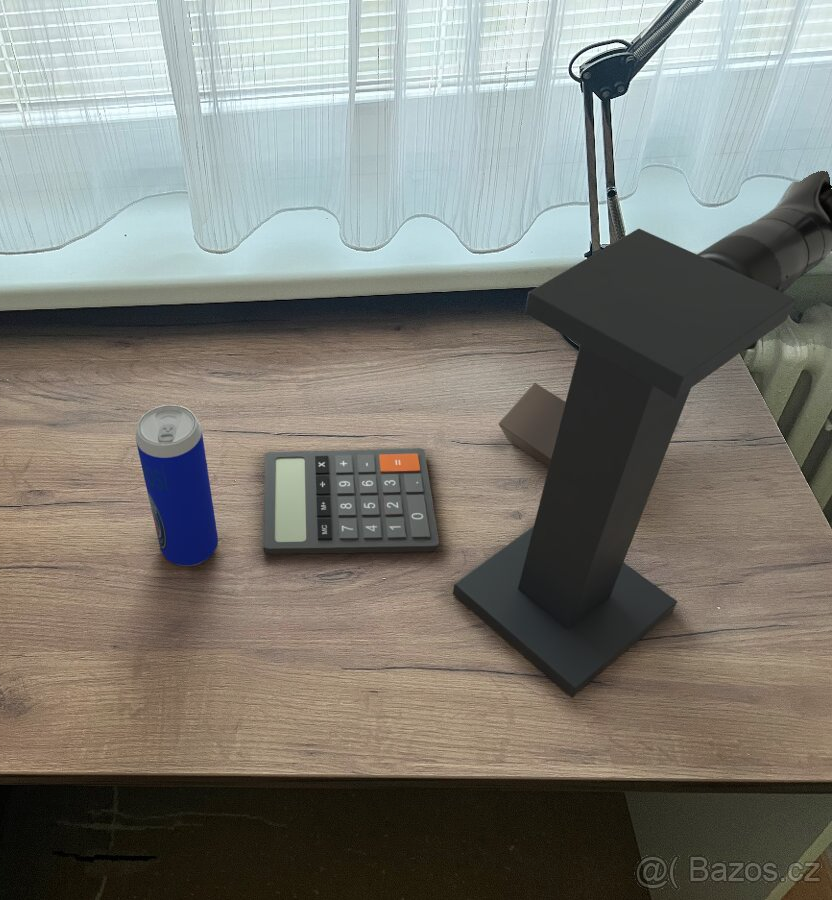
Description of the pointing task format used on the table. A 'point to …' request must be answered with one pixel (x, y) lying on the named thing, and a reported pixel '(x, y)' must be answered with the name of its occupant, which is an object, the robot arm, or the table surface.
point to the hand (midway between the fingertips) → (629, 346)
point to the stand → (613, 447)
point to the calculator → (348, 502)
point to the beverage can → (177, 483)
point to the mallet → (534, 423)
